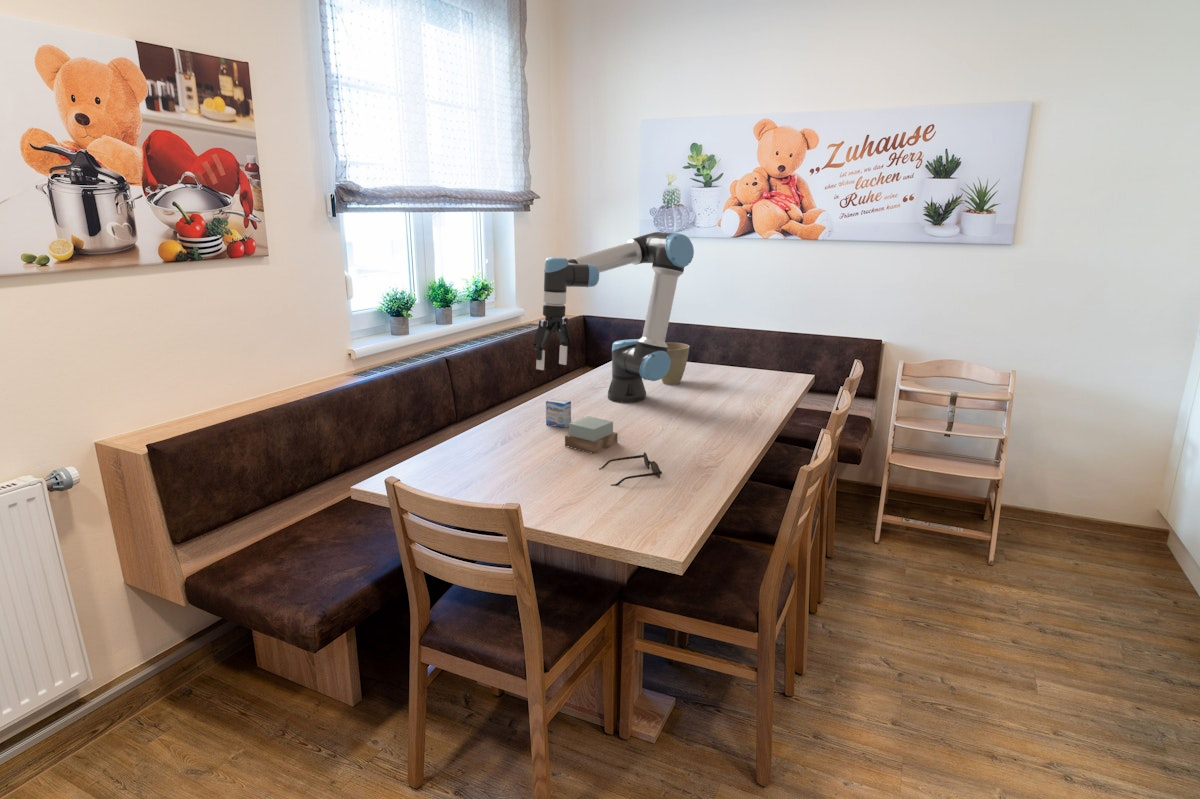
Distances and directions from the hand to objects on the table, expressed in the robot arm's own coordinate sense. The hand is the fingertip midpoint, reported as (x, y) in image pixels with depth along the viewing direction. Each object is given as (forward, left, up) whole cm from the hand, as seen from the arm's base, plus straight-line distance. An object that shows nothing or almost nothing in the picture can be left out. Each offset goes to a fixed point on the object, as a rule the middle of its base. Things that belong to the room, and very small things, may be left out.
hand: (551, 366), depth 245 cm
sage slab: (+9, +24, -17) cm, 31 cm away
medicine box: (-1, +2, -21) cm, 21 cm away
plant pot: (-73, +4, -21) cm, 76 cm away
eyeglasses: (+23, +48, -21) cm, 57 cm away
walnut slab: (+9, +24, -21) cm, 33 cm away
